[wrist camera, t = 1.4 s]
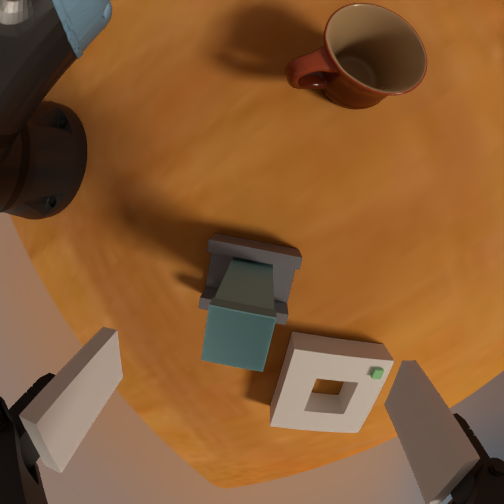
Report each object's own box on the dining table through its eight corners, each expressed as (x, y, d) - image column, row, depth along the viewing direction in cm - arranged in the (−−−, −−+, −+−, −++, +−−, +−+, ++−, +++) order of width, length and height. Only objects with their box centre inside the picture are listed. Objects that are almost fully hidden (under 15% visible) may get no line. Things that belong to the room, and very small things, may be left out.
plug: (227, 289, 33) (201, 359, 20) (234, 252, 32) (209, 304, 19) (265, 296, 33) (262, 371, 19) (273, 259, 32) (276, 317, 18)
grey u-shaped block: (205, 295, 34) (198, 307, 31) (215, 232, 32) (208, 239, 29) (284, 310, 34) (285, 325, 30) (298, 249, 32) (302, 257, 29)
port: (270, 406, 37) (269, 429, 33) (292, 331, 35) (294, 352, 30) (352, 413, 37) (358, 435, 33) (383, 344, 34) (396, 363, 30)
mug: (367, 41, 26) (399, -1, 16) (397, 109, 28) (443, 87, 18) (268, 63, 28) (267, 18, 18) (297, 136, 30) (310, 116, 20)
